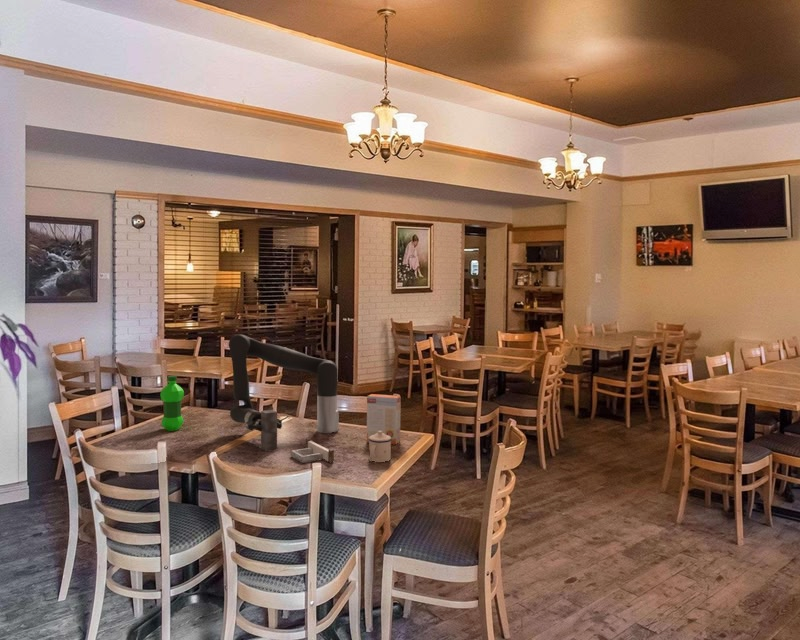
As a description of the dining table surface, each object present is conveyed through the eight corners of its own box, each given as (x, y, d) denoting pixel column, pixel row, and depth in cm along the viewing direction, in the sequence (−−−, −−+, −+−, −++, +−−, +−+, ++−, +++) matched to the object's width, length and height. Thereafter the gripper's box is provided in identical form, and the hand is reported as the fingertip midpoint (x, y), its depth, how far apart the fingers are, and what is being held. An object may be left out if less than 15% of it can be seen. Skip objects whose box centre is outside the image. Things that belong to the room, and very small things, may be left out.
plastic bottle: (160, 432, 284) (159, 378, 282) (162, 427, 294) (161, 375, 292) (183, 431, 286) (182, 378, 285) (184, 426, 296) (184, 374, 295)
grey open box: (309, 449, 260) (309, 438, 260) (333, 462, 243) (333, 450, 242) (285, 453, 254) (285, 441, 254) (308, 467, 237) (309, 454, 236)
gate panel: (307, 450, 258) (307, 441, 258) (313, 450, 259) (313, 440, 259) (328, 461, 243) (328, 451, 243) (333, 460, 245) (333, 450, 245)
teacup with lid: (373, 455, 254) (374, 427, 253) (394, 458, 250) (394, 429, 250) (361, 463, 243) (361, 434, 242) (382, 466, 239) (383, 436, 238)
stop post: (272, 446, 264) (272, 409, 263) (277, 449, 260) (277, 411, 259) (261, 448, 261) (261, 411, 260) (265, 451, 257) (265, 413, 256)
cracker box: (400, 442, 275) (401, 395, 273) (396, 445, 269) (396, 398, 268) (371, 439, 279) (371, 393, 278) (366, 442, 274) (366, 395, 272)
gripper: (240, 413, 267) (254, 420, 254) (271, 409, 275) (286, 416, 262) (240, 430, 267) (254, 438, 254) (271, 426, 276) (286, 434, 262)
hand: (270, 427), depth 258 cm, fingers open, 8 cm apart
